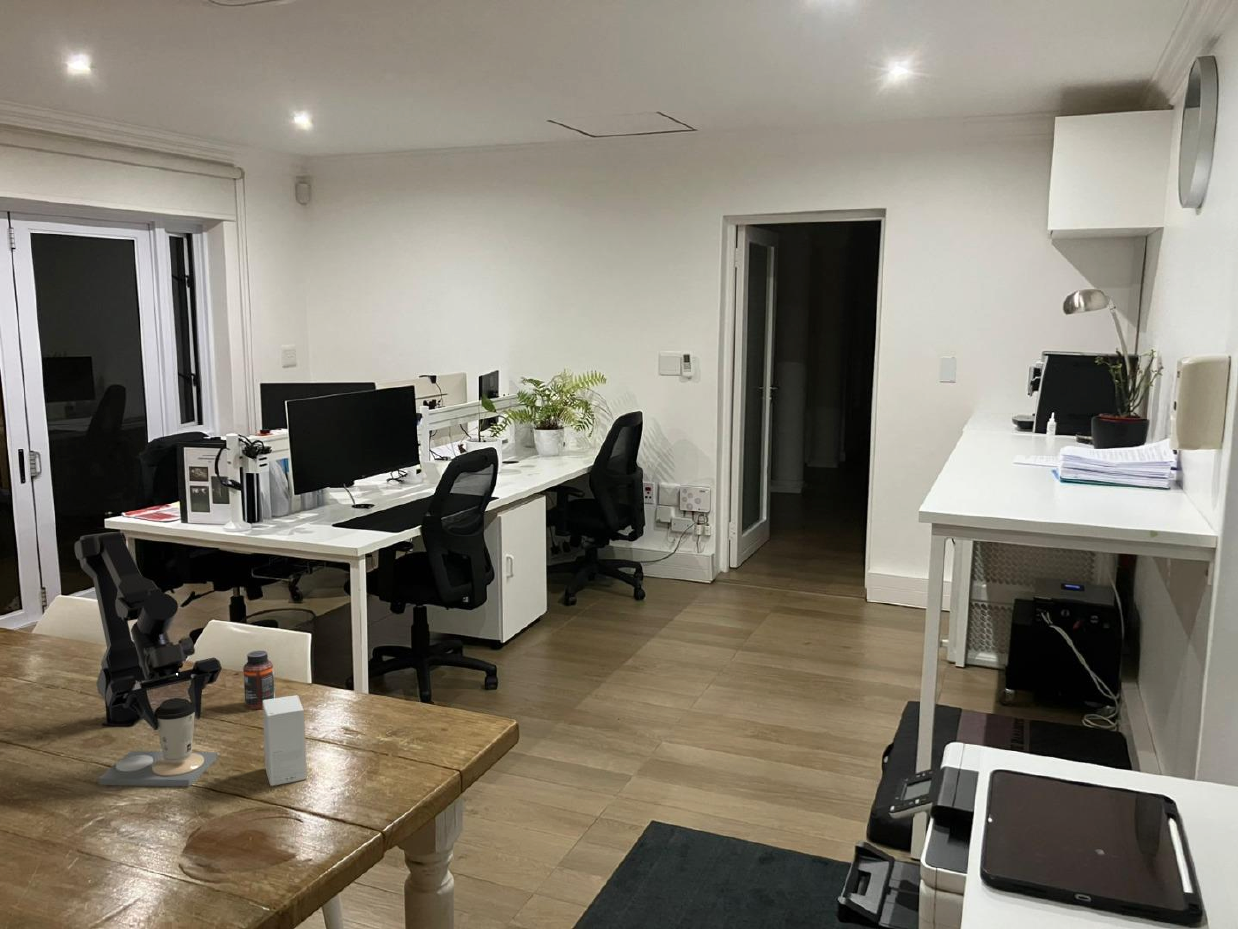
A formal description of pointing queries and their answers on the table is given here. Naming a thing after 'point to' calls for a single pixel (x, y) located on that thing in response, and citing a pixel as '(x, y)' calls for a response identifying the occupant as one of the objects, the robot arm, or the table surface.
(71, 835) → the table surface
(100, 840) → the table surface
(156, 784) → the slate board
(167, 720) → the coffee cup
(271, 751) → the small box
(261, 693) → the supplement bottle
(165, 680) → the robot arm
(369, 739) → the table surface
